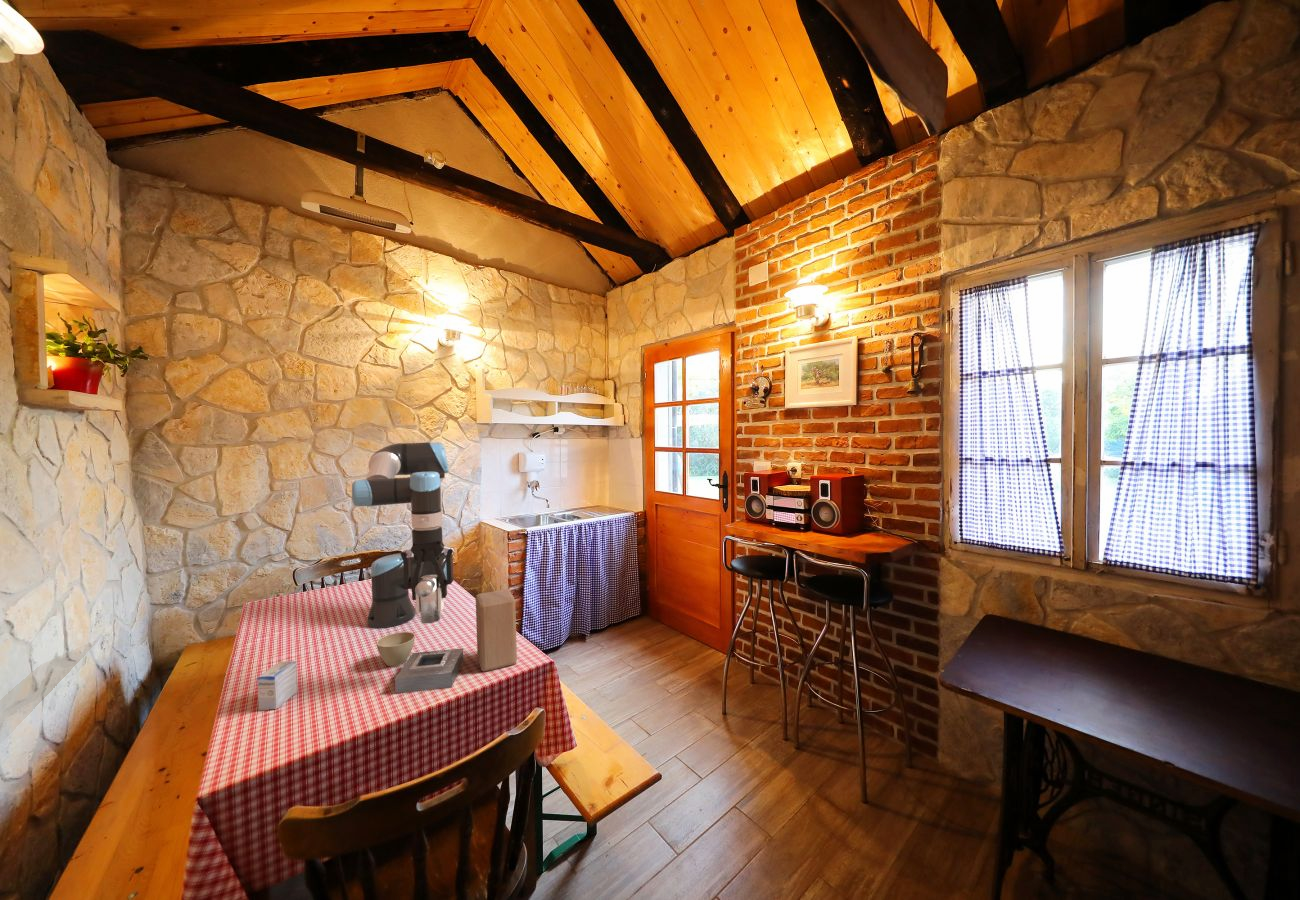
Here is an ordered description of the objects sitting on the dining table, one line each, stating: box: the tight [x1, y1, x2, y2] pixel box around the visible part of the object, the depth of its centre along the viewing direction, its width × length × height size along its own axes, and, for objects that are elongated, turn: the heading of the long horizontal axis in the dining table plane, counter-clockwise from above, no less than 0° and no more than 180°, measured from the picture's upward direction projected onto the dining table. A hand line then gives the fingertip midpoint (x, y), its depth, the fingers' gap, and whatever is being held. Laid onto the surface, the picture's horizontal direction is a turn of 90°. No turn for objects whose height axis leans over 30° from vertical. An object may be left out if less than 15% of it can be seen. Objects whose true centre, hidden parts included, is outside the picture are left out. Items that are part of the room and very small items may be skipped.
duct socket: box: [394, 647, 464, 694], centre depth 129 cm, size 14×14×5 cm
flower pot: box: [376, 631, 416, 667], centre depth 137 cm, size 10×10×7 cm
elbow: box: [415, 575, 441, 624], centre depth 127 cm, size 8×5×12 cm, turn 10°
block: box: [475, 588, 518, 672], centre depth 136 cm, size 10×10×20 cm
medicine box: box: [256, 660, 299, 711], centre depth 118 cm, size 8×4×9 cm, turn 5°
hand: (430, 609), depth 128 cm, fingers closed on elbow, 5 cm apart
